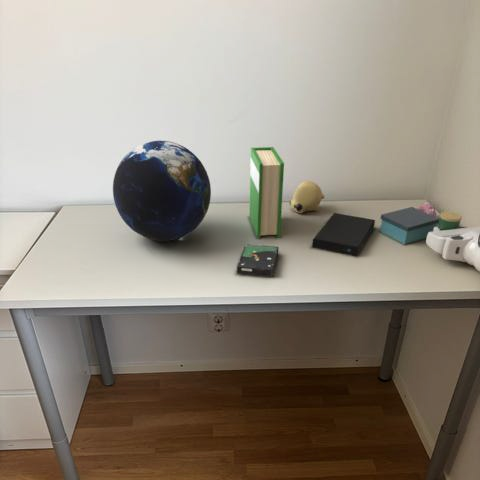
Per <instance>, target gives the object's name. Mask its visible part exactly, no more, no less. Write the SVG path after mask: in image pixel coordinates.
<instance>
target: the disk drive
mask: <svg viewBox="0 0 480 480" xmlns="http://www.w3.org/2000/svg"><path fill="white" fill-rule="evenodd" d="M279 249H280V248H279V246H275V245H257V244H255V245H253V244H246V245H244V247H243V250H242V253H241V254H240V258H239V260H238V261H237V265H236V274H239V275H247V276H258V277H273V274H274V270H275V267H276V264H277V259H278V256H279Z"/></svg>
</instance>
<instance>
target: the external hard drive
mask: <svg viewBox="0 0 480 480" xmlns="http://www.w3.org/2000/svg"><path fill="white" fill-rule="evenodd" d="M375 224H376V219H372V218H366V217H360V216H356V215H355V216H354V215H350V214H343V213H338V212H333V213H332V215H331V216H330V218H328V220H327V221H326V222H325V223H324V225H323V226H322V227H321V229H319V231H318V232H317V234H316V235H314V237H313V238H312V241H311V242H312V243H311V247H312V248H313V249H318V250H322V251H329V252H332V253H337V254H343V255H347V256H353V257H357V256H358V255H359V253H360V252H361V250H362V248H363V246H364V245H365V243H366V242H367V240H368V238H369V236H370V235H371V233H372V231H373V230H374V228H375Z"/></svg>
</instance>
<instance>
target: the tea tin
mask: <svg viewBox="0 0 480 480" xmlns="http://www.w3.org/2000/svg"><path fill="white" fill-rule="evenodd" d="M462 218H463V216H462V215H461V213H458V212H454V211H449V210H447V211H442V212H440V214H439V219H440V220H439V223H437V224H438V225H437V227H440V228H441V231H442V230H452V229H458V228H459V225H461V220H462Z"/></svg>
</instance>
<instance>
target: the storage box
mask: <svg viewBox="0 0 480 480" xmlns="http://www.w3.org/2000/svg"><path fill="white" fill-rule="evenodd" d="M416 208H417V207H414V206H410V207H405V208H402V209H398V210H393V211H390V212H386V213H383V214H380V218H379V219H381V224H380V229H379V232H380V233H382V234H383V235H385V236H387V237H389V238H391V239H393V240H395V241H397V242H399V243H401V244H403V245H408V244H411V243H414V242H417V241H418V242H419V241H421V240H424V239H427V235H428V233H429V232H433V230H434V227H437V224H439V220H440V217H439V218H438V217H436V216H435V217H434V216H432V215H429V214H427V213H425V212H423V211H420V210H418V209H416Z"/></svg>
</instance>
